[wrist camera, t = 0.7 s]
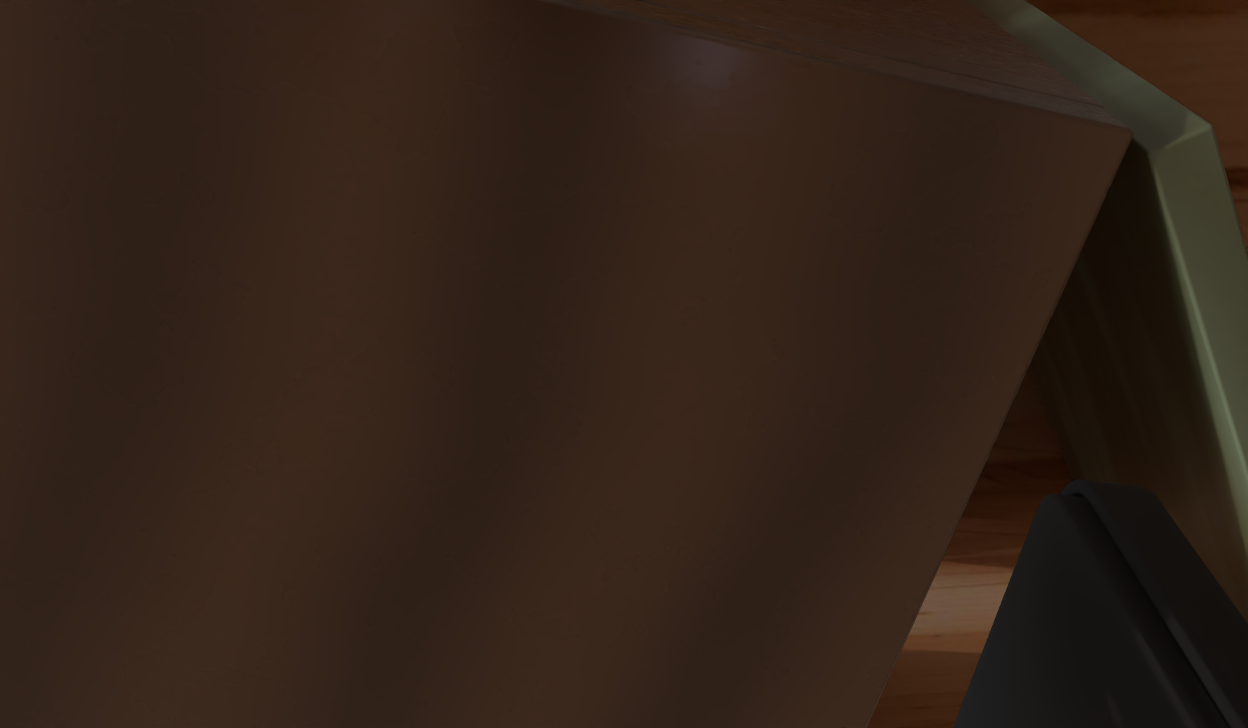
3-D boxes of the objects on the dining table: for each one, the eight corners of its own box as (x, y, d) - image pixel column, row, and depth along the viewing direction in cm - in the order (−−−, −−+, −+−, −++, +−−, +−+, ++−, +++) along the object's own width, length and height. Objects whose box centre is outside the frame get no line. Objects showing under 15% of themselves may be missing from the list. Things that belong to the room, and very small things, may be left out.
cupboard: (840, -99, 38) (1138, 131, 17) (653, 532, 51) (690, 1122, 29) (287, -234, 36) (-166, -165, 15) (234, 459, 49) (-55, 1040, 27)
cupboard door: (1032, -182, 37) (1597, -50, 16) (1224, 437, 49) (1700, 986, 28) (848, -85, 38) (1147, 153, 17) (1078, 495, 50) (1424, 1061, 29)
